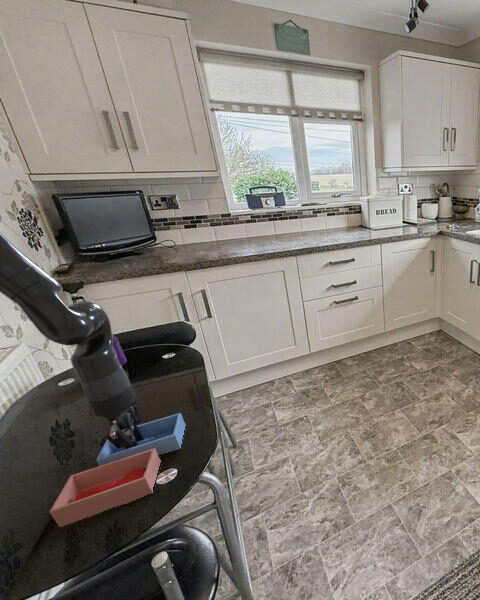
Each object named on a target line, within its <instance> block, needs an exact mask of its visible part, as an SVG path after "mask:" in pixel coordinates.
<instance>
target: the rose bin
mask: <svg viewBox="0 0 480 600" xmlns="http://www.w3.org/2000/svg"><path fill="white" fill-rule="evenodd" d="M161 462H162V460H161V458H160V457H159V456H158V453H157V451H156V449H155V448H154V449H151V450H148V451H145V452H141V453H138V454H135V455H132V456H129V457H126V458H123V459H120V460H117V461H114V462H111V463H108V464H105V465H102V466H99V465H98V466H95V467H92V468H90V469H86V470H82V471H80V472H78V473H74V474H71V475H69V478H68V479H67V481H66V483H65V485H64V487H63V488H62V490H61V492H60V493H59V495H58V497H56V500H55V501H54V503H53V505H52V507H51V508H50V510H49V514H50V515H51V517H52V518H53V520H54V521H55V522H56V524H57V526H58V527H59V528H60V527H62V528H64V527H63V526H65V525H68V524H70V525H72V524H71V523H73V522H76V521H79V520H81V521H83V520H82V519H84V518H87V517H89V518H91V517H90V516H92V517H94V516H93V515H95V514H97V515H99V514H98V513H100V514H102V513H101V512H103V511H105V510H108V509H111V508H113V507H116V508H118V507H117V506H119V507H121V506H120V505H122V506H124V505H123V504H125V505H128V504H130V503H132V502H131V501H133V502H135V501H137V500H136V499H138V500H140V499H139V498H141V499H143V498H142V497H144V496H146V495H148V494H151V493H153V494H154V492H153V487H154V484H155V480H156V477H157V473H158V470H159V466H160V463H161ZM146 467H147V468H146ZM143 468H146V471H145V474H144V477H143V478H140V479H137V480H135V481H132V482H129V483H126V484H123V485H120V486H117V487H115V488H112V489H109V490H106V491H103V492H100V493H97V494H95V495H92V496H89V497H86V498H83V499H80V500H77V501H76V497H77V495H78V494H79V493H81V492H83V491H86V490H89V489H92V488H95V487H97V486H100V485H103V484H106V483H109V482H112V481H115V480H118V479H122V478H123V477H124V476H125V475H127V474H128V473H130V472H131V471H133V470H136V469H143ZM146 497H147V496H146ZM144 498H145V497H144ZM134 500H135V501H134ZM129 502H130V503H129ZM111 510H112V509H111ZM108 511H109V510H108ZM103 513H104V512H103ZM95 516H96V515H95ZM87 519H88V518H87ZM84 520H85V519H84ZM79 522H80V521H79ZM76 523H77V522H76ZM73 524H74V523H73ZM68 526H69V525H68ZM65 527H66V526H65Z"/></svg>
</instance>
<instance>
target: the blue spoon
mask: <svg viewBox="0 0 480 600" xmlns="http://www.w3.org/2000/svg"><path fill="white" fill-rule="evenodd" d="M173 433H174V432H173V431H172V430H164V431H162V432H160V433H158V434H156V435H155V436H154V437H151V438H148V439H144V440H141V441H138V442H137V443H138V446H139V445H142V444H145V443H148V442H151V441H154V440H157V439H161V438H164V437H167V436H170V435H173ZM123 450H126V449H125V447H121V448H119V449H117V450H116V451H115V453H117V452H120V451H123Z"/></svg>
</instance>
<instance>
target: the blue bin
mask: <svg viewBox="0 0 480 600" xmlns="http://www.w3.org/2000/svg"><path fill="white" fill-rule="evenodd" d="M139 425H140V431H141V434H142V436H143V438H144V439H148V437H149V438H151V437H154V436H155V435H156V434H158V433H160V432H162V431H164V430H172V431H173V432H174V433H173V435H170V436H167V437H164V438H161V439H157V440H154V441H151V442H148V443H145V444H142V445H139V446H135V447H132V448H129V449H126V450H123V451H120V452H117V453H115V451H116V450H117V448H116V447H115V446H114V445H113V444H112V443H111V442H110V441H109V440H107V439H106V440H105V443H104V445H103V446H102V449H101V450H100V452H99V454H98V456H97V458H96V460H95V461H96V463H97V465H98V467H99V466H102V465H105V464H108V463H111V462H114V461H117V460H120V459H123V458H126V457H129V456H132V455H135V454H138V453H141V452H145V451H148V450H151V449H154V448H155V449H156V451H157V453H158V455H160V454H164V453H168V452H171V451H175V450H178V449H180V448H181V449H182V447H181V444H182V445H183V442H182V439H183V440H184V438H183V435H184V436H185V433H184V430H185V431H186V429H185V426H186V427H187V425H186V421H184V418H183V414H182V413H181V412H179V413H176V414H172V415H169V416H165V417H162V418H158V419H155V420H152V421H149V422H148V421H147V422H145V423H141V424H139ZM127 436H128V434H127ZM128 437H129V436H128ZM178 451H179V450H178ZM175 452H176V451H175Z"/></svg>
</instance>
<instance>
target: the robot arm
mask: <svg viewBox="0 0 480 600" xmlns="http://www.w3.org/2000/svg"><path fill="white" fill-rule="evenodd" d="M63 289H64V288H63V286H62V284H61V283H60V282H59V281H58V280H56V278H54V277H53V276H51V275H50V274H49V272H47V271H45V270H44V269H43V268H42V267H40V266H39V265H38V264H36V263H35V262H34V261H33V260H31V259H30V258H29V257H28V256H27V255H26V254H25V253H23V252H22V251H20V250H19V249H18V248H17V247H16V246H15V245H14V244H13V243H12V242H11V241H10V240H9V239H8V238H7V237H6V236H5V235H4V234H3V233H2V232H1V231H0V294H2V295H3V296H4V297H6V298H7V299H8V300H10V301H11V302H13V303H14V304H16V305H17V306H19V308H20V310H22V312H23V313H24V315H25V316H26V317H27V318H28V320H29V321H30V322H31V323H32V325H33V326H34V327H35V329H37V330H38V332H39V333H40V334H41V335H42V336H43V337H45V338H46V339H47V340H49V341H51V342H52V343H56V344H57V345H58V344H59V345H62V346H75V345H76V348H75V350H74V352H73V353H72V355H71V356H70V363H71V365H72V368H73V370H74V372H75V374H76V376H77V378H78V380H79V382H80V385H81V389H82V392H83V393H84V395H85V397H86V399H87V401H88V404H89V405H90V407H91V410H92V411H93V413H94V414H95V415H96V416H97V417H100V418H106V420H107V424H108V427H109V428H111V429H110V432H107V433H105V439H106V441H107V440H109V441H110V442H111V443H112V444H113V445H114V446H115V447H116V448H117V449H119V448H121V447H125V449H129V448H132V447H135V446H138V443H137V442H138V441H141V440H144V438H143V436H142V434H141V431H140V425H141V424H140V423H142V418H141V413H140V410H139V405H138V400H137V394H136V393H135V390H134V387H133V385H132V383H131V381H130V379H129V376H128V374H127V372H126V371H125V368H123V366H121V364H120V362H119V360H118V358H117V355H116V353H115V351H114V349H113V338H112V334H113V331H112V325H111V321H110V318H109V316H108V314H107V312H106V311H105V310H104V309H103V307H101V305H98V304H97V303H95V302H93V301H87V300H81V301H77V302H74V303H72V304H70V305H68V306H67V305H66V304H65V303H64V302H63V301H62V300H61V298H60V297H59V296H60V295H61V294H62V292H63ZM127 434H128V436H129V437H128V436H127Z"/></svg>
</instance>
